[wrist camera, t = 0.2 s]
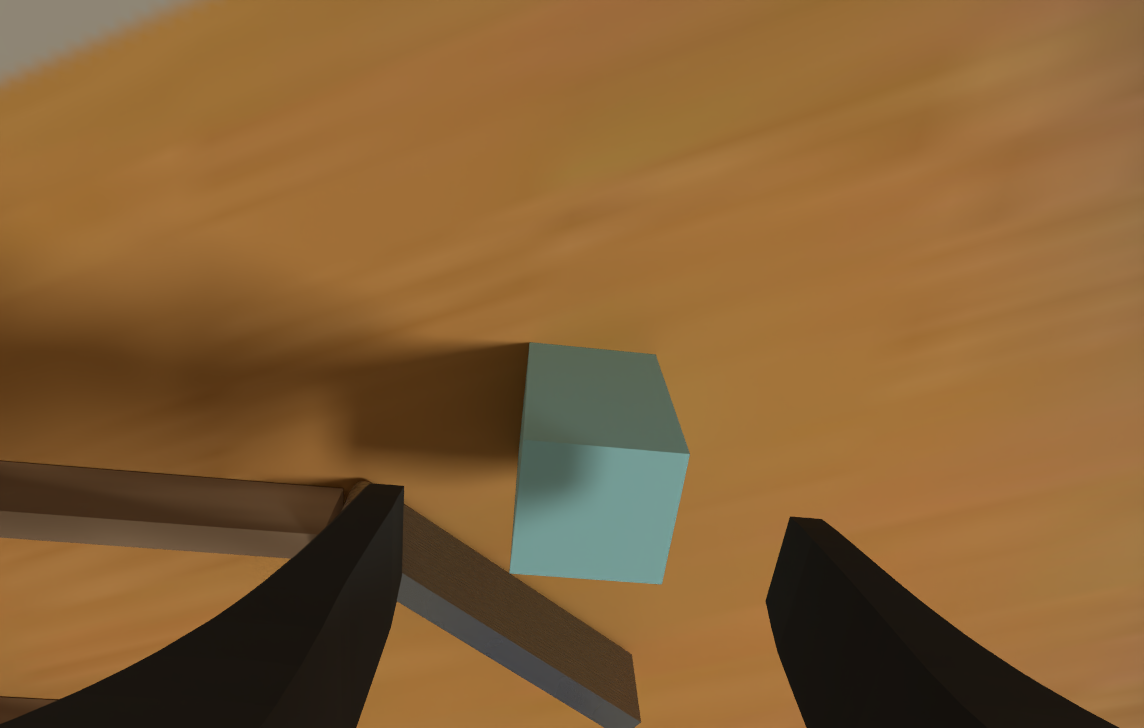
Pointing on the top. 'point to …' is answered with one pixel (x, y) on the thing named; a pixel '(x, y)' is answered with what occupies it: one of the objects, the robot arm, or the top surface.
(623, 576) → the teal block
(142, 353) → the top surface
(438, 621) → the gate
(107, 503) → the bay
